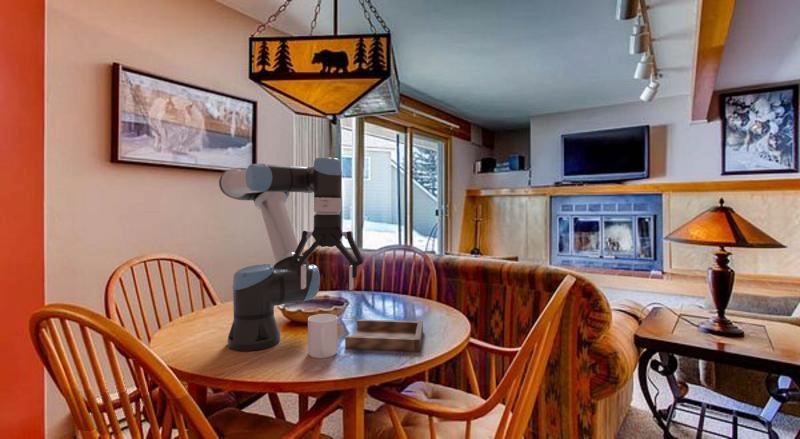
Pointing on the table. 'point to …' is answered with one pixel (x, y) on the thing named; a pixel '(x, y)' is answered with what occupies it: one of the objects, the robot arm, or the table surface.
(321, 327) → the mug
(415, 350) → the tray
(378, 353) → the table surface
